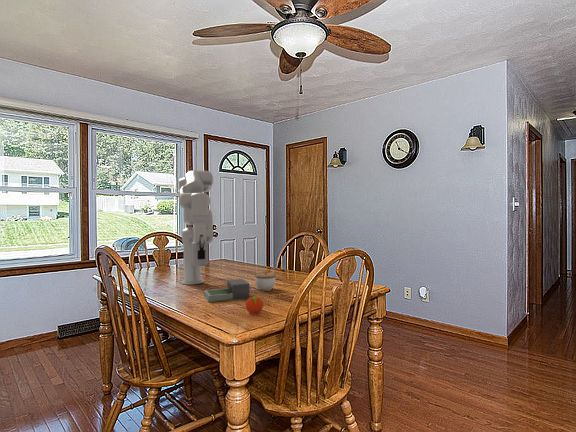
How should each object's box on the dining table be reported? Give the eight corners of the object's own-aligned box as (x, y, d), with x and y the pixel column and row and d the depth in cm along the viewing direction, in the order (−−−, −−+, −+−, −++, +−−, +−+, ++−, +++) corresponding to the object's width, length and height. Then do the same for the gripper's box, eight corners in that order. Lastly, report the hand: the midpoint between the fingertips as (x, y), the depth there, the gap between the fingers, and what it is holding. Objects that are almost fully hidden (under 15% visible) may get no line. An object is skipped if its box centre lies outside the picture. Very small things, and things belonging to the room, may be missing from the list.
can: (204, 266, 162) (203, 240, 162) (188, 266, 164) (188, 239, 164) (211, 264, 170) (211, 238, 169) (196, 263, 171) (196, 238, 171)
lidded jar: (277, 287, 193) (277, 269, 193) (274, 291, 182) (274, 273, 182) (257, 286, 194) (257, 269, 194) (253, 291, 183) (253, 273, 183)
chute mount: (204, 296, 173) (204, 282, 173) (242, 292, 181) (242, 278, 180) (208, 302, 162) (208, 287, 162) (249, 298, 169) (249, 283, 169)
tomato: (264, 316, 141) (264, 298, 141) (247, 317, 140) (246, 299, 140) (261, 310, 149) (261, 293, 149) (245, 311, 148) (244, 294, 147)
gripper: (189, 219, 173) (190, 255, 173) (193, 220, 157) (193, 261, 157) (205, 219, 176) (206, 255, 176) (211, 220, 159) (211, 260, 160)
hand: (200, 257), depth 167 cm, fingers closed on can, 7 cm apart
